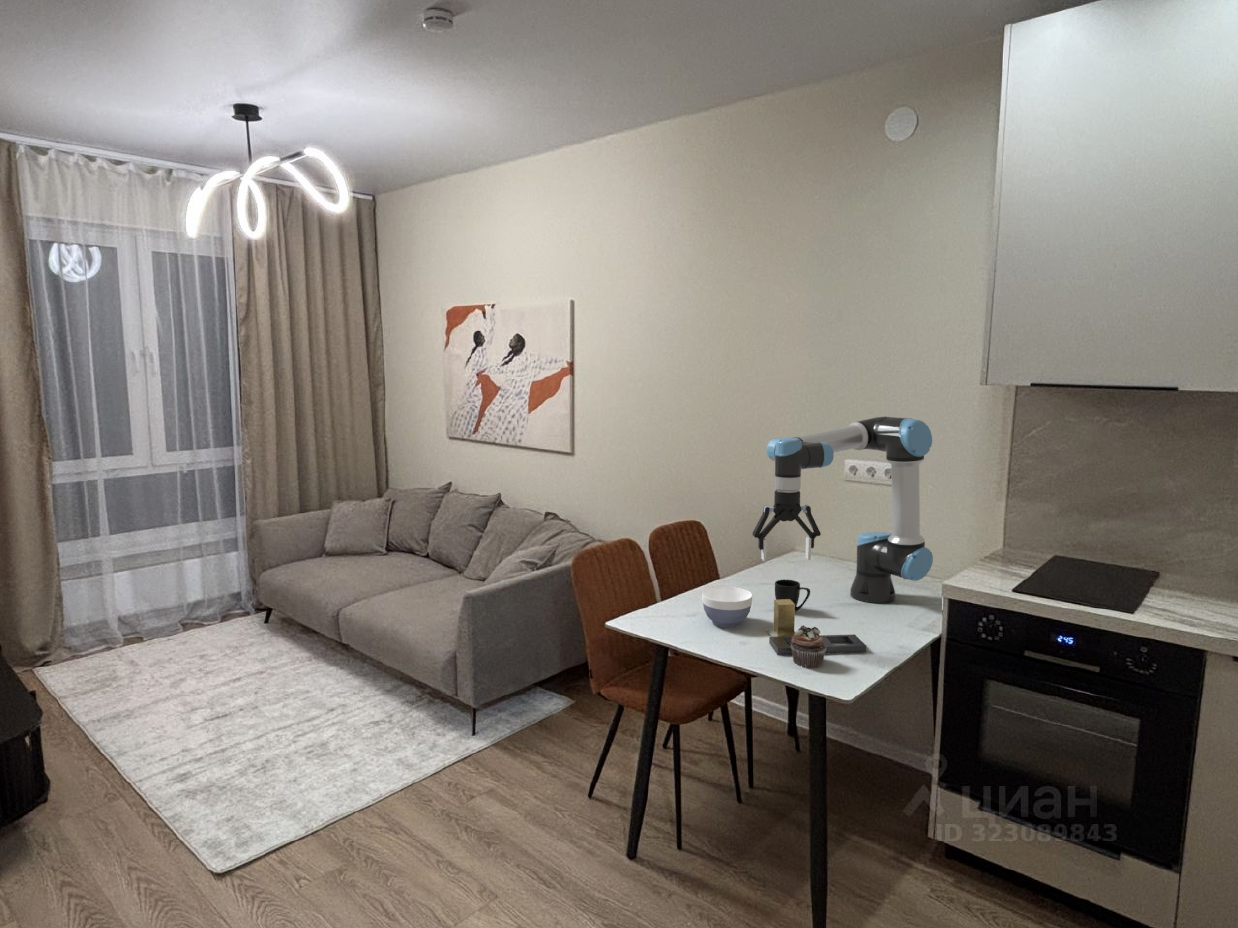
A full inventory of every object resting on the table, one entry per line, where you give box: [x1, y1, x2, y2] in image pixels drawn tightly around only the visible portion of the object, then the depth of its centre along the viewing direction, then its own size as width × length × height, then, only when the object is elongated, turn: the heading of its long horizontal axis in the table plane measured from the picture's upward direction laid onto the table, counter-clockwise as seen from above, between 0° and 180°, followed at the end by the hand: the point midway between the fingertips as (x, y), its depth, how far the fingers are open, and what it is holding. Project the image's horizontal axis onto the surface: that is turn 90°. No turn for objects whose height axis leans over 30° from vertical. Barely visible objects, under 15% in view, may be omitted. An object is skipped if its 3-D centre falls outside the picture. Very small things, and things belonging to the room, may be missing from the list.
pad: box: [766, 628, 796, 637], centre depth 231 cm, size 8×8×1 cm
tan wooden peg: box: [772, 599, 796, 637], centre depth 230 cm, size 5×5×10 cm
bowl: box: [701, 586, 753, 629], centre depth 241 cm, size 16×16×10 cm
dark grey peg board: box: [768, 634, 867, 656], centre depth 220 cm, size 26×9×2 cm, turn 94°
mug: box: [774, 579, 811, 612], centre depth 252 cm, size 8×12×10 cm
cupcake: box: [790, 624, 826, 669], centre depth 210 cm, size 10×10×10 cm
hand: (785, 559), depth 227 cm, fingers open, 13 cm apart
